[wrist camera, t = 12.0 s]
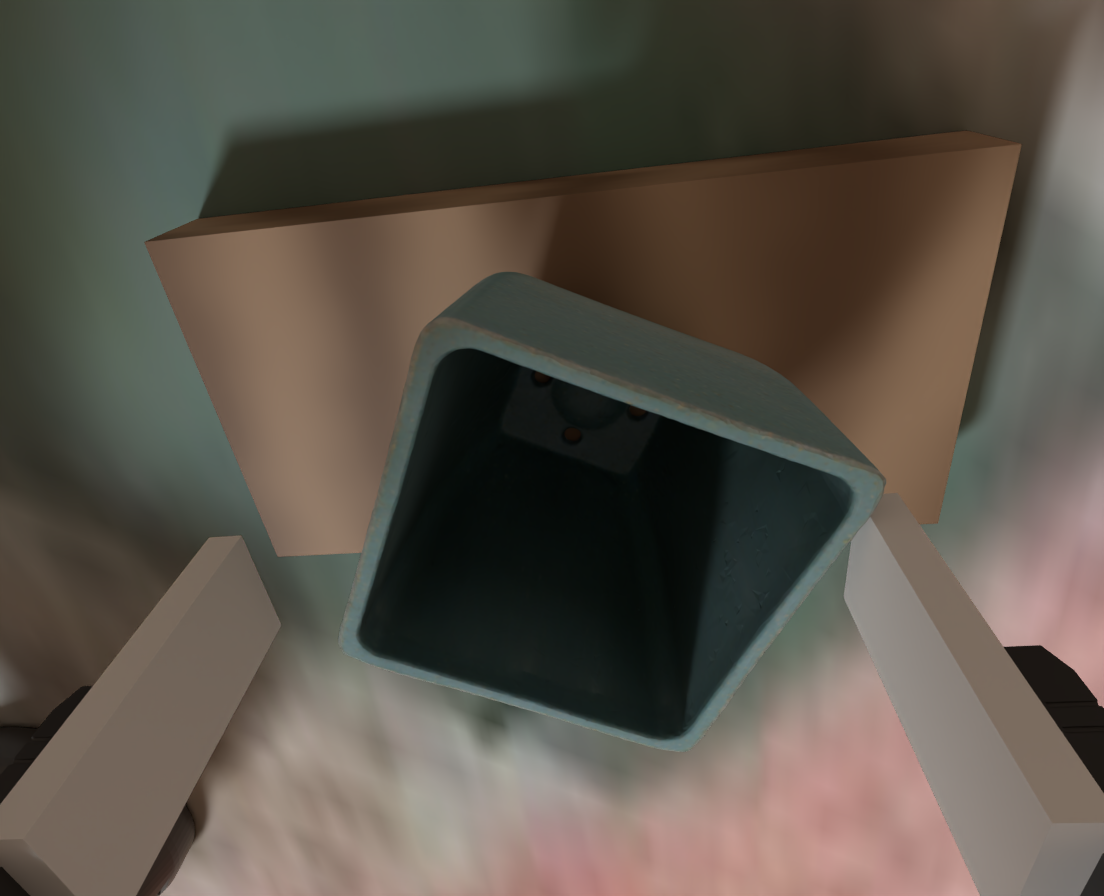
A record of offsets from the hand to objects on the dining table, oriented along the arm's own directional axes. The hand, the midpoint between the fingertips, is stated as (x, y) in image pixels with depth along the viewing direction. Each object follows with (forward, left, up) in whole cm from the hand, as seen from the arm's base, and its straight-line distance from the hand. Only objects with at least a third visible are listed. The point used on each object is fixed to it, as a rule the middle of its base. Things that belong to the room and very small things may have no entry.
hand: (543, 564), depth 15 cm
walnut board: (0, 0, -11) cm, 11 cm away
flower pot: (+1, 0, -8) cm, 8 cm away
